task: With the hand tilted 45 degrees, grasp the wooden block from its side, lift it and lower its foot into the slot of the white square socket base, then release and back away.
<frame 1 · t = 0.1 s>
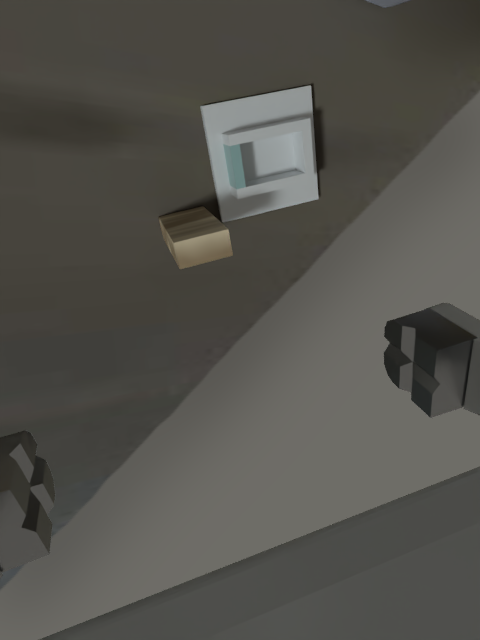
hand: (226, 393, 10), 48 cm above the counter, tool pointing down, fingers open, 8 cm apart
wooden block: (183, 222, 56), on the counter
white square socket base: (263, 156, 55), on the counter
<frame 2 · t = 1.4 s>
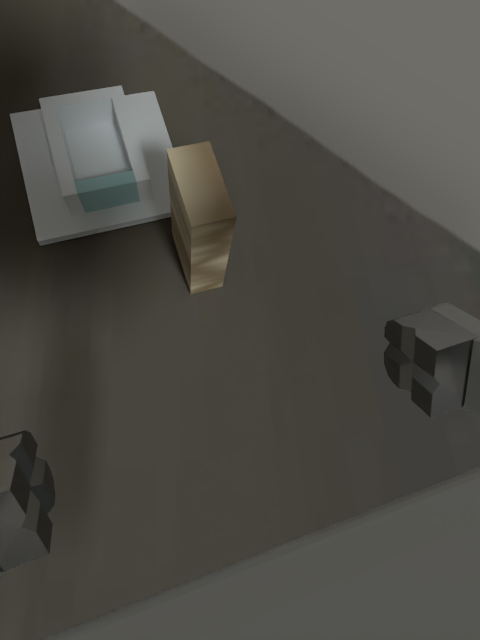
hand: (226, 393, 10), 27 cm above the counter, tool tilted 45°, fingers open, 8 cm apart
wooden block: (197, 261, 39), on the counter
white square socket base: (101, 165, 41), on the counter
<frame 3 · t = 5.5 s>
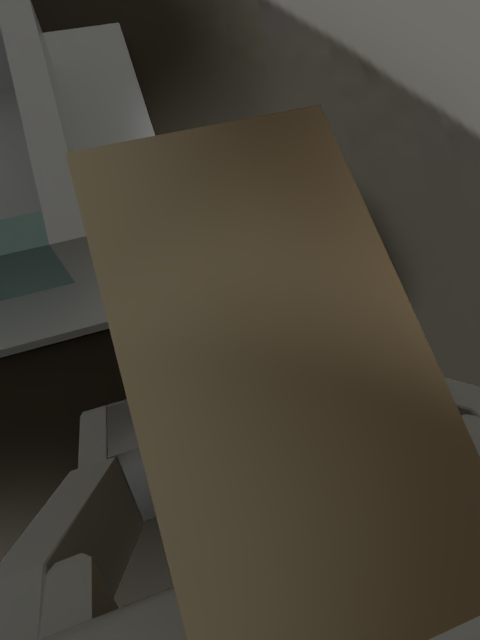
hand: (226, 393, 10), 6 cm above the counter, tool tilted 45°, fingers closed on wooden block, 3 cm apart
wooden block: (219, 434, 15), on the counter, touching gripper
when the fingers open (8 cm above the counter, at t = 10.9 s): wooden block drops 1 cm, resting on white square socket base.
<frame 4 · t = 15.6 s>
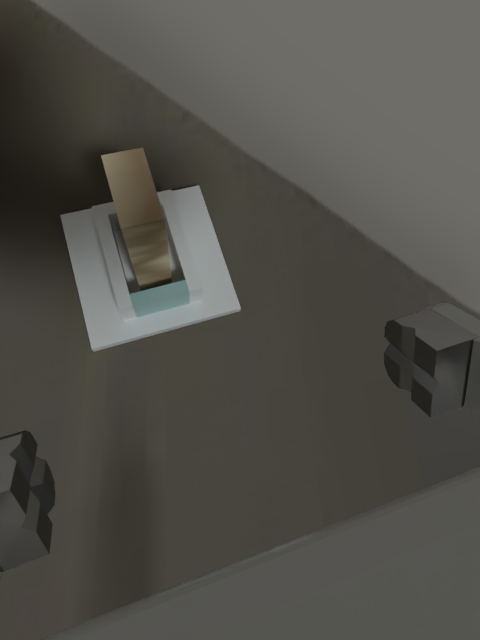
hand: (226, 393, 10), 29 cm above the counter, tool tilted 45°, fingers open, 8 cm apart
wooden block: (149, 261, 41), point 1 cm above the counter, touching white square socket base
white square socket base: (150, 264, 42), on the counter
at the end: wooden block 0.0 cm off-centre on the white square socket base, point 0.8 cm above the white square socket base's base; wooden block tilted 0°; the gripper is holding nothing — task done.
